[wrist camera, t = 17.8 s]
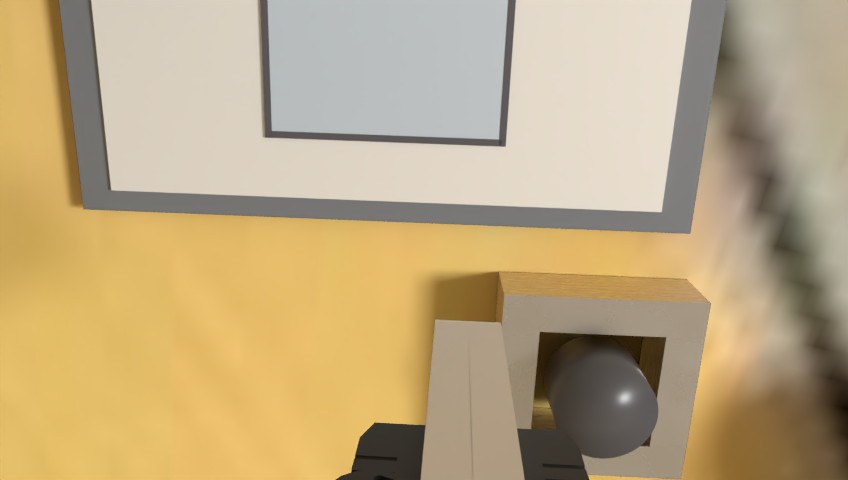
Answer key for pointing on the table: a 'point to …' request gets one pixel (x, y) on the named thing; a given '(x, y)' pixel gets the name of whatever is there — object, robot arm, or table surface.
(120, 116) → the sheet
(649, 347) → the button housing
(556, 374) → the button
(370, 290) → the table surface
